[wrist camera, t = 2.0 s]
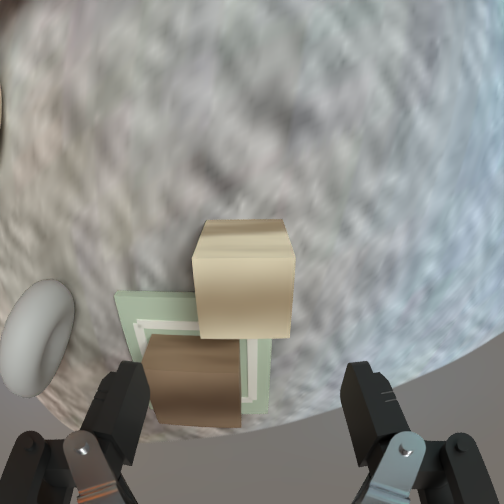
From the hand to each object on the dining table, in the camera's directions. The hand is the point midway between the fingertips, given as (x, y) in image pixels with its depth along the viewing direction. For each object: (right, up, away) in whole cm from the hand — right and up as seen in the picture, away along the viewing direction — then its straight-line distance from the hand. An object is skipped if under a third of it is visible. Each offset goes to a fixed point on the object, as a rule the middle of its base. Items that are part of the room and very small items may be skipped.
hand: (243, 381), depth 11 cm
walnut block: (-4, -5, +13) cm, 15 cm away
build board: (-4, -4, +14) cm, 15 cm away
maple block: (0, +5, +10) cm, 11 cm away
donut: (-16, 0, +12) cm, 20 cm away
